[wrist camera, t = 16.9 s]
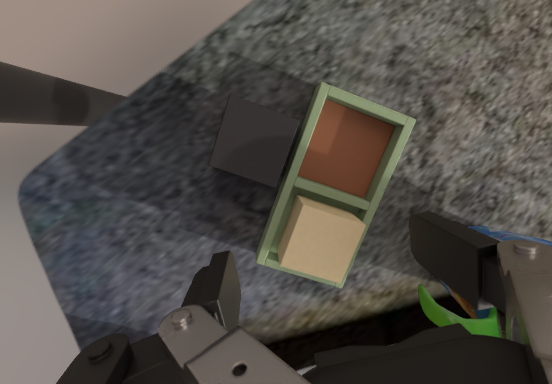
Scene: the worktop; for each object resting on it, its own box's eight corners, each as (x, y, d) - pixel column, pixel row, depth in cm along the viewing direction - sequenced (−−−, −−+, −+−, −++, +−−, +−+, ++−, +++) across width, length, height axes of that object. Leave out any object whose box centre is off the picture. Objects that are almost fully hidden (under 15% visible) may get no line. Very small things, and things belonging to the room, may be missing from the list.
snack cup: (539, 198, 27) (700, 235, 17) (531, 288, 30) (668, 367, 20) (392, 220, 27) (471, 272, 17) (395, 310, 29) (466, 402, 19)
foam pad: (276, 246, 26) (279, 266, 22) (296, 193, 25) (303, 204, 21) (328, 261, 27) (340, 284, 23) (349, 211, 26) (366, 225, 22)
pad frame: (255, 252, 26) (255, 263, 24) (316, 86, 23) (321, 81, 21) (335, 276, 28) (341, 288, 26) (402, 120, 25) (416, 119, 22)
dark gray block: (215, 160, 24) (207, 165, 20) (234, 100, 23) (229, 93, 19) (273, 179, 25) (276, 188, 21) (293, 122, 24) (300, 120, 20)
